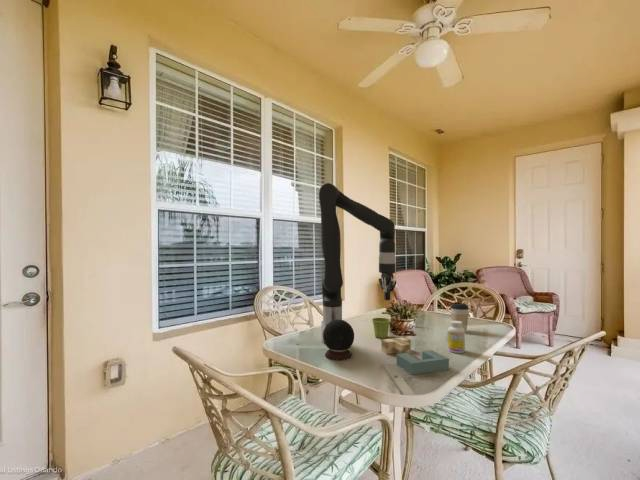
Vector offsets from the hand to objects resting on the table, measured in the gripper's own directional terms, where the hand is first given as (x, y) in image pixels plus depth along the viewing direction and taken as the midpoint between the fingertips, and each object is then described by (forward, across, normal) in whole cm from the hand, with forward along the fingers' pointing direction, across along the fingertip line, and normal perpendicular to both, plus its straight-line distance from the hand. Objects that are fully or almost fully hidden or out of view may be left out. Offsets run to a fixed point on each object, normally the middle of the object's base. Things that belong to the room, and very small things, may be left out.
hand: (387, 300), depth 147 cm
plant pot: (+21, -14, +4) cm, 25 cm away
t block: (+21, +11, 0) cm, 23 cm away
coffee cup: (+21, -10, +49) cm, 54 cm away
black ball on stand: (+21, +6, -26) cm, 34 cm away
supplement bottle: (+21, +16, +25) cm, 36 cm away
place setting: (+22, -19, +22) cm, 37 cm away
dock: (+21, +26, 0) cm, 33 cm away
